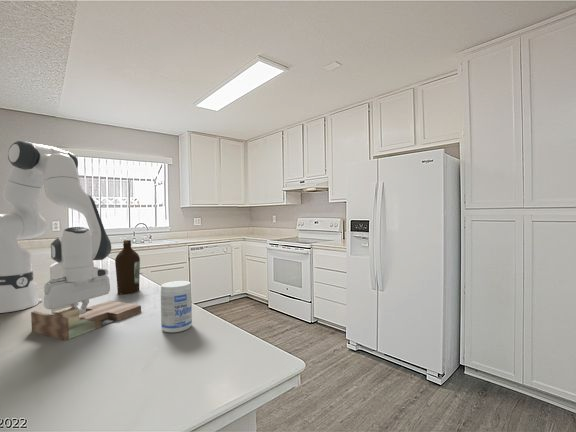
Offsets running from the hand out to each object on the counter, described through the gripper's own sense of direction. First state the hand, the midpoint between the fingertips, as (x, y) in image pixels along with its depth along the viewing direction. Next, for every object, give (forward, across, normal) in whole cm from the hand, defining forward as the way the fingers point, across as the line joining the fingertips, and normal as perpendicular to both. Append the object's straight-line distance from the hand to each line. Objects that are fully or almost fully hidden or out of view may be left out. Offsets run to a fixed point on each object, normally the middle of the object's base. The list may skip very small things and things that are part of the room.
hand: (80, 314), depth 103 cm
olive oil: (+4, +36, +22) cm, 43 cm away
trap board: (+4, +4, 0) cm, 5 cm away
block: (+1, -4, 0) cm, 5 cm away
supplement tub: (+4, +10, -34) cm, 36 cm away
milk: (+4, +4, +18) cm, 19 cm away
